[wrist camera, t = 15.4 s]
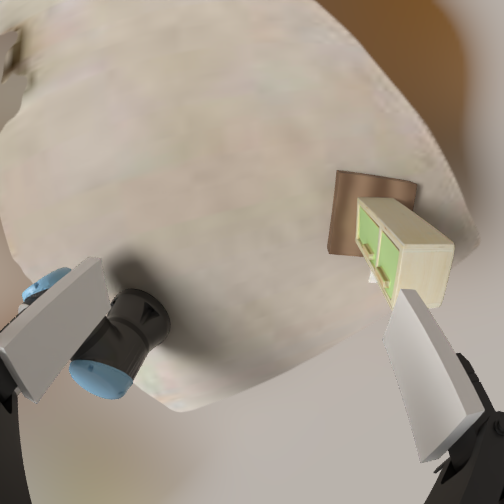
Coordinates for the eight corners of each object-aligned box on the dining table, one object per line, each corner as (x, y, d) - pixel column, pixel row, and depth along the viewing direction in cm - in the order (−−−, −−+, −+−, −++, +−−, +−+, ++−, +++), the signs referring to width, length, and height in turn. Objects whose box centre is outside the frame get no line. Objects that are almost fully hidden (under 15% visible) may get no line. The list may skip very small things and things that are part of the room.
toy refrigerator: (352, 195, 44) (398, 244, 25) (393, 196, 43) (457, 244, 24) (350, 241, 47) (385, 314, 28) (389, 241, 46) (441, 309, 27)
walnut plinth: (327, 247, 51) (329, 253, 48) (336, 170, 45) (339, 172, 43) (396, 253, 50) (401, 260, 47) (410, 181, 44) (417, 184, 41)
